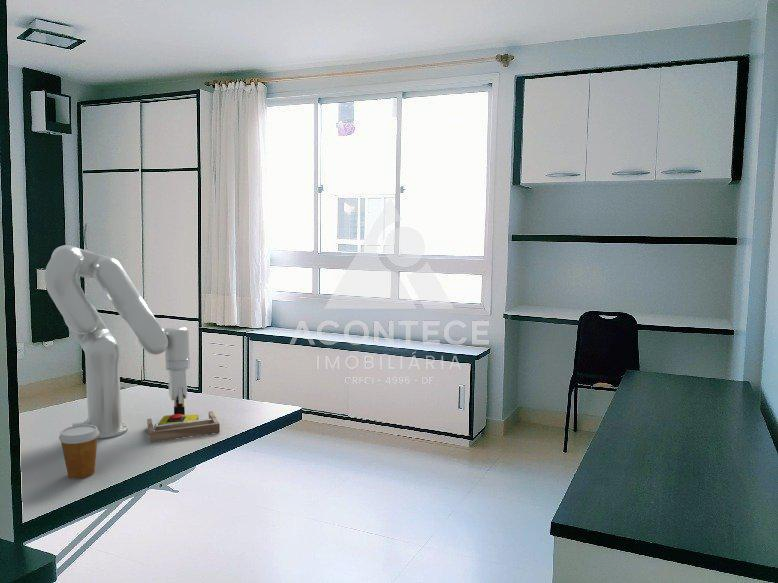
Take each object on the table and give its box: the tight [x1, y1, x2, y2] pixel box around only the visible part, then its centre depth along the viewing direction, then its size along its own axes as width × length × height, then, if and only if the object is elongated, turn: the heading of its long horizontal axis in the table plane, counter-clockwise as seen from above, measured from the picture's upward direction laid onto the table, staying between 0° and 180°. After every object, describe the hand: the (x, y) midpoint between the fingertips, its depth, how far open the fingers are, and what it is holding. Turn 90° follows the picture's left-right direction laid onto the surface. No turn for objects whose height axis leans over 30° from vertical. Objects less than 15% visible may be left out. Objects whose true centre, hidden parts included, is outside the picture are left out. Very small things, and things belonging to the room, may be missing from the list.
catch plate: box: [154, 418, 212, 431], centre depth 194 cm, size 1×17×3 cm, turn 115°
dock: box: [146, 411, 221, 443], centre depth 196 cm, size 14×20×3 cm
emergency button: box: [157, 413, 200, 425], centre depth 200 cm, size 9×4×15 cm
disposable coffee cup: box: [58, 425, 99, 480], centre depth 161 cm, size 10×10×12 cm
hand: (179, 417), depth 206 cm, fingers closed
